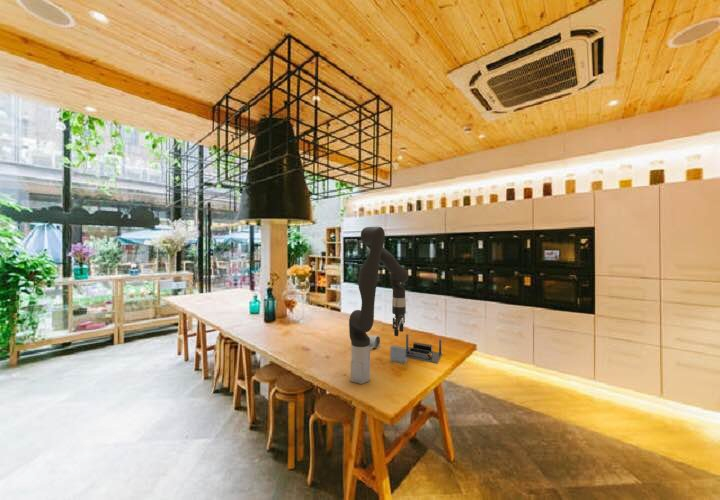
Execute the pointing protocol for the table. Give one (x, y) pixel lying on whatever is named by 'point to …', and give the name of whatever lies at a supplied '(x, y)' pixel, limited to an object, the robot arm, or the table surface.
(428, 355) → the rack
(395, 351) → the grey rectangular block
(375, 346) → the ceramic mug
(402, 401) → the table surface
